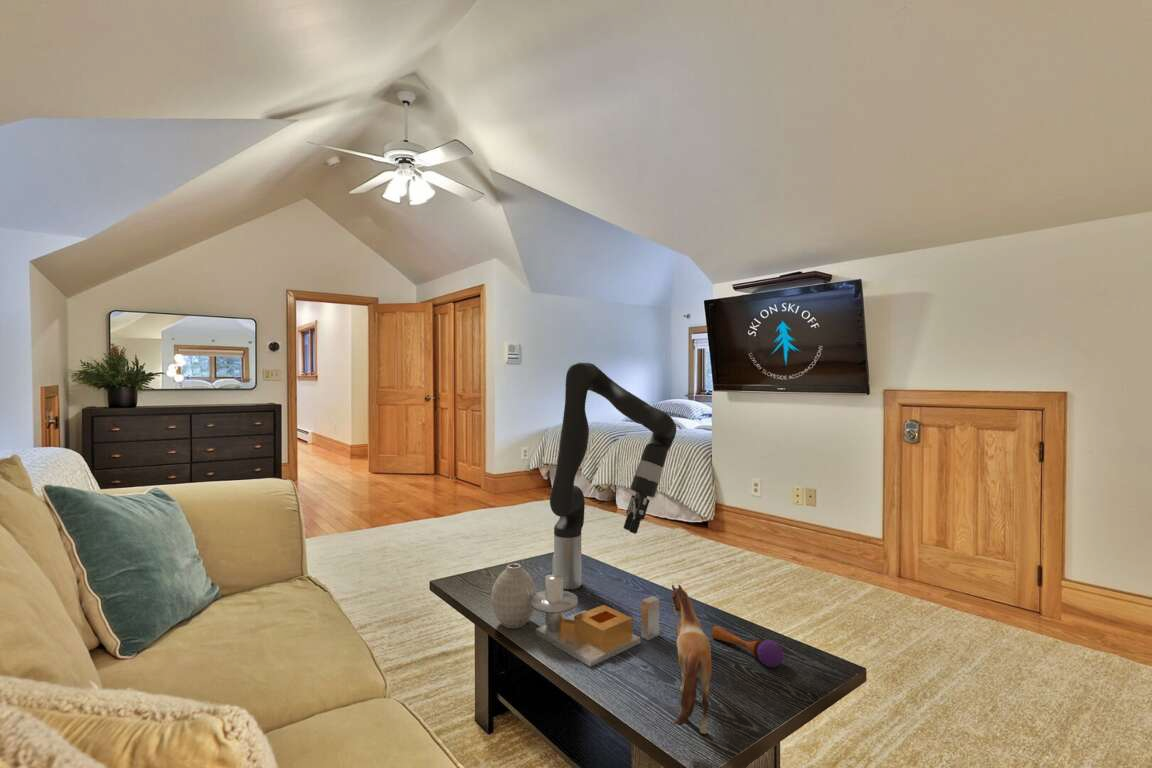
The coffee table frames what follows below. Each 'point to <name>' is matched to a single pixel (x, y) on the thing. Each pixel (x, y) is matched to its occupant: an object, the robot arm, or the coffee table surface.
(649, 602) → the grey rectangular peg
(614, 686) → the coffee table surface
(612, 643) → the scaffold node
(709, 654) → the horse figurine
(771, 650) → the kendama
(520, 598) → the vase
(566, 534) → the robot arm
